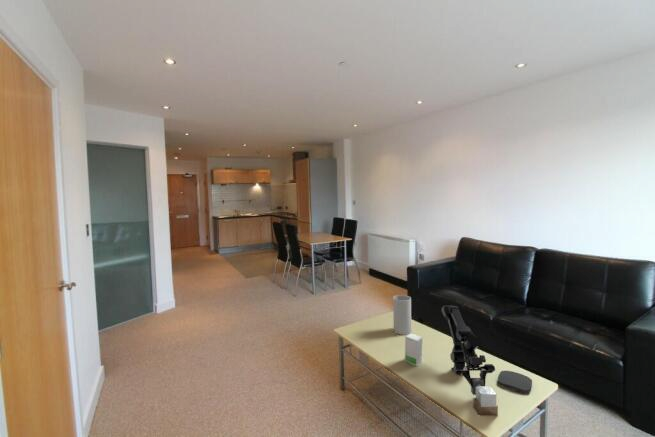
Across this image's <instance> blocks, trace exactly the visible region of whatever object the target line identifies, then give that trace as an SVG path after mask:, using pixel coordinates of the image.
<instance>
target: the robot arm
mask: <svg viewBox="0 0 655 437" xmlns="http://www.w3.org/2000/svg"><path fill="white" fill-rule="evenodd" d="M459 308H460V307H459V306H457V305H456V306H455V305H443V306H442V307H441V314H443V318H445V320H446V321H447V323H448V326H449V331H450V334H451V339H452V342H453V347H452V350H451V351H452V352H451V353H450V360H451V362H452V363H453V367H451V370H452V371H453V374H456V375H457V376H460V375H461V376H463V377H464V379H465V380H466V381H467V383H468V384H469V386H470V388H471V387H472V388H473V383H472V380H471V378H472V377H471V373H470V372H471V371H472V372H473V371H475V372H477V371H478V372H479V371H480V373H479V378H482V379H483V380H484V386H486V378H487V374H492V373H493V372H495V371H496V367H495V365H494V364H493V363H492V364H491V363H486V362H487V359H486V356H485V355H483V354H482V355H481V354H480V355H479V356H478V354H477V353H476V350H477V348H479V346H480V344H481V342H480V339H479V337H477V336H476V335H475V334H474V333H473V331H472V330H471V328H470V327H469V326H468V325H467V324H466V323H465V321H464V319H463V316H462V315H461V312H460V309H459ZM484 363H485V364H484ZM483 364H484V365H483ZM482 365H483V366H482Z"/></svg>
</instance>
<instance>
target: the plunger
mask: <svg viewBox="0 0 655 437" xmlns="http://www.w3.org/2000/svg"><path fill="white" fill-rule="evenodd" d="M471 380H472V383H473V388H472V387H471V386H470V392H471V394H472V395H473V396H476V386H484V380H483V379H482V378H480V377H471Z"/></svg>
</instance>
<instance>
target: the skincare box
mask: <svg viewBox="0 0 655 437" xmlns="http://www.w3.org/2000/svg"><path fill="white" fill-rule="evenodd" d="M404 339H405V341H404V342H405V343H404V362H405V363H409V364H410V365H413V366H416V367H418V366H419V365H420V364H422V362H423V337H422V336H419V335H418V334H414V333H412V332H411V333H410V334H407V335H405V338H404Z"/></svg>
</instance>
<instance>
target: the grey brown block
mask: <svg viewBox="0 0 655 437" xmlns="http://www.w3.org/2000/svg"><path fill="white" fill-rule="evenodd" d="M472 400H473V401H472V404H473V405H472V406H473V407H472V408H473V410H474V411H475V412H476V414H477V416H478V415H480V417H481V416H482V417H485V416H487V417H488V416H489V417H491V416H492V417H498V416H499V415H498V414H499V412H498V411H499V410H498V409H499V406H498V405H497V393H496V392H495V391H494V389H493V388H492V387H491V386H487V385H485V386H476V395H475V397H473V398H472Z"/></svg>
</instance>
